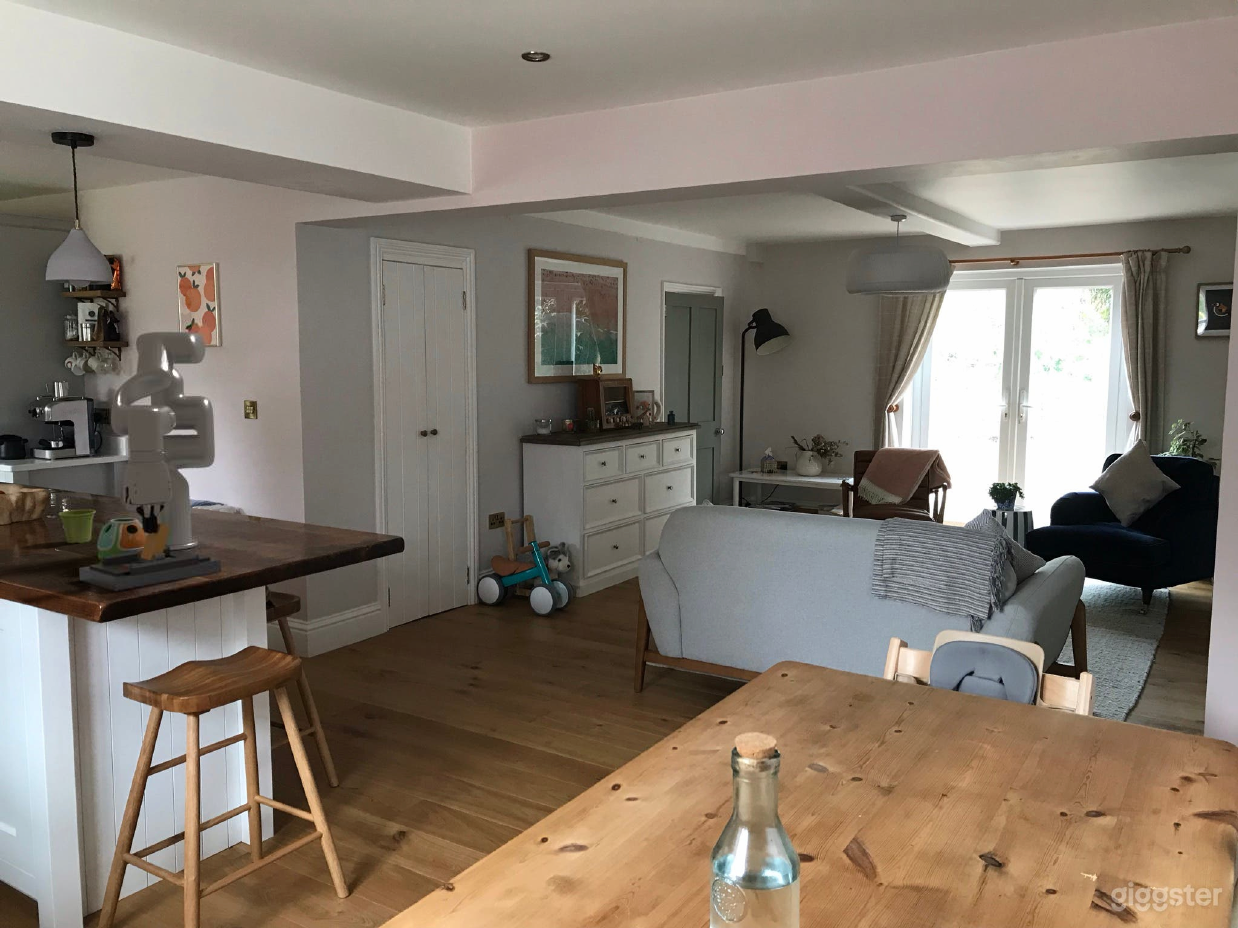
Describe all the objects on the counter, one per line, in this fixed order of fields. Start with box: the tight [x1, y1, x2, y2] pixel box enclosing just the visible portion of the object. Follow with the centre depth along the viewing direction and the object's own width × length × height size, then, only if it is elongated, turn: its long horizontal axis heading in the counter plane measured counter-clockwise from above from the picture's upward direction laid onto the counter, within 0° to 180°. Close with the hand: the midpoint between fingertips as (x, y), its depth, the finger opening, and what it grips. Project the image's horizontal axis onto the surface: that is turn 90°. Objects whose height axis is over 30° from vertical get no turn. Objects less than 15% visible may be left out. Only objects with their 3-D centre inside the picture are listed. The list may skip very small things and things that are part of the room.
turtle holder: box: [96, 517, 148, 564], centre depth 255 cm, size 12×18×12 cm
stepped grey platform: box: [102, 546, 200, 576], centre depth 241 cm, size 20×18×2 cm
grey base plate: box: [78, 549, 222, 592], centre depth 241 cm, size 18×26×6 cm
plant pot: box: [58, 509, 96, 544], centre depth 285 cm, size 9×9×9 cm
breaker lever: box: [141, 524, 170, 561], centre depth 242 cm, size 6×2×9 cm, turn 52°
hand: (150, 532), depth 240 cm, fingers closed
